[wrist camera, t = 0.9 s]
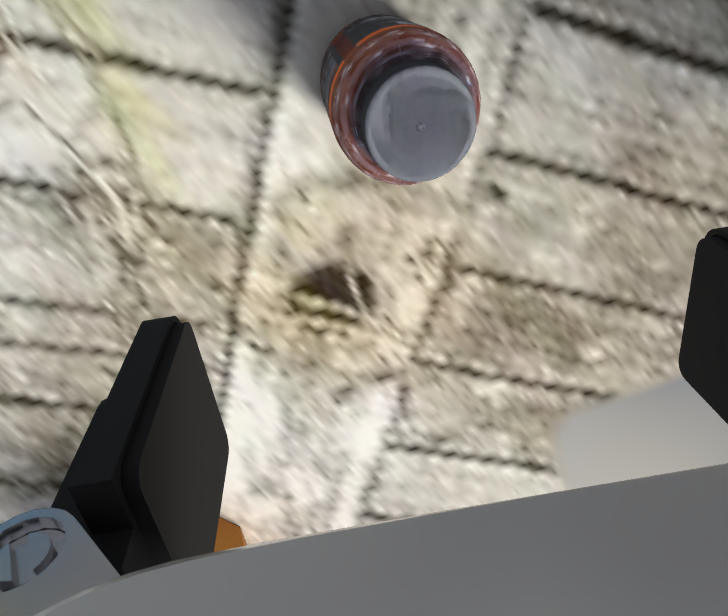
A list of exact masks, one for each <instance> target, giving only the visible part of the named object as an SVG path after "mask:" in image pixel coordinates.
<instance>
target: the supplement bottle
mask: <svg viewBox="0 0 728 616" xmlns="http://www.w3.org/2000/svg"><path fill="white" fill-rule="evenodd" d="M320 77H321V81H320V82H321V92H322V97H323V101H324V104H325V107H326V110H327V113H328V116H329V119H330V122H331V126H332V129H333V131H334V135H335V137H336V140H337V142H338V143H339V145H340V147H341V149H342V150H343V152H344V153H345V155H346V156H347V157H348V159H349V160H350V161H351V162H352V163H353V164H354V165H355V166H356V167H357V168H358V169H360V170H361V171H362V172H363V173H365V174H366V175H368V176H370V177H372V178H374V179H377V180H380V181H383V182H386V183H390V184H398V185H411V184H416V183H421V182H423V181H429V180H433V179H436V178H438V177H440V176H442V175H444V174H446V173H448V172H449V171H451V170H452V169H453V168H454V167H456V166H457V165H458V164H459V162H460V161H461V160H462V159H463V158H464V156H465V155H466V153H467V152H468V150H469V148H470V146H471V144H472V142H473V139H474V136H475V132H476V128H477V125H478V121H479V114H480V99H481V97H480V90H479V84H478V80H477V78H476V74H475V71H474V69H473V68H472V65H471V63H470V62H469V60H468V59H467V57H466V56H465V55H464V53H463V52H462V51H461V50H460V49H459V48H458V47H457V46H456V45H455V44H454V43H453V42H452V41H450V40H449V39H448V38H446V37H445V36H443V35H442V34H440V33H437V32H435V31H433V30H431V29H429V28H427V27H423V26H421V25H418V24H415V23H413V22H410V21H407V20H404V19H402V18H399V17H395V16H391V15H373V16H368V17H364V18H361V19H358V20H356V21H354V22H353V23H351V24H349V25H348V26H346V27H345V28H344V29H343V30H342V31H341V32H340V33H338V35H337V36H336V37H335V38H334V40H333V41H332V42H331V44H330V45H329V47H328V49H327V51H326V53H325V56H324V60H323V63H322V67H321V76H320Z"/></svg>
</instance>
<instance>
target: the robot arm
mask: <svg viewBox="0 0 728 616" xmlns="http://www.w3.org/2000/svg"><path fill="white" fill-rule="evenodd" d="M679 368H680V371H681V374H682V376H683V377H684V379H685V380H686V381H687V382H688V383H689V384H690V385H691V386H692V387H693V388H694V389H695V390H696V391H697V392H698V393H699V395H700V396H701V397H702V398H703V399H704V400H705V401H706V402H707V403H708V404H709V405H710V406H711V407H712V408H713V409H714V410H715V411H716V412H717V413H718V414H719V416H720V417H721V418H722V419H723V420H724V421H725V422H726V423H727V424H728V227H723V228H717V229H712V230H710V231H709V232H708V233H707V235H706V236H705V238H703V239H701V240H700V241H699V243H698V245H697V248H696V254H695V260H694V267H693V273H692V279H691V285H690V292H689V298H688V304H687V310H686V317H685V323H684V329H683V335H682V342H681V348H680V354H679ZM228 454H229V446H228V438H227V434H226V431H225V428H224V425H223V422H222V419H221V415H220V412H219V409H218V406H217V403H216V400H215V397H214V394H213V391H212V388H211V385H210V382H209V379H208V375H207V372H206V369H205V366H204V363H203V360H202V357H201V354H200V351H199V348H198V345H197V342H196V339H195V335H194V332H193V329H192V327H191V325H190V323H189V322H184V323H180V321H179V319H178V318H177V317H176V316H172V317H165V318H159V319H153V320H147V321H143V322H142V323H141V325H140V327H139V329H138V332H137V334H136V336H135V338H134V340H133V343H132V345H131V347H130V349H129V351H128V354H127V356H126V358H125V360H124V362H123V365H122V367H121V369H120V371H119V373H118V376H117V378H116V380H115V382H114V384H113V387H112V389H111V391H110V393H109V395H108V398H107V399H105V400H103V401H102V402H101V403H100V405H99V406H98V408H97V410H96V412H95V414H94V416H93V419H92V421H91V423H90V425H89V427H88V429H87V431H86V434H85V436H84V438H83V440H82V442H81V444H80V446H79V448H78V451H77V453H76V455H75V457H74V459H73V461H72V463H71V466H70V468H69V470H68V472H67V474H66V476H65V478H64V481H63V483H62V485H61V487H60V489H59V491H58V493H57V496H56V498H55V500H54V502H53V504H52V506H51V508H44V509H35V510H32V511H29V512H26V513H23V514H20V515H18V516H16V517H14V518H12V519H10V520H8V521H6V522H4V523H2V524H0V616H728V463H726V464H720V465H714V466H708V467H702V468H696V469H690V470H684V471H678V472H673V473H666V474H660V475H655V476H649V477H643V478H637V479H631V480H625V481H619V482H613V483H607V484H601V485H595V486H589V487H584V488H577V489H571V490H565V491H559V492H553V493H547V494H541V495H536V496H530V497H524V498H518V499H512V500H506V501H500V502H494V503H488V504H482V505H476V506H470V507H464V508H458V509H452V510H446V511H440V512H434V513H429V514H423V515H417V516H411V517H405V518H400V519H394V520H388V521H382V522H377V523H371V524H365V525H359V526H354V527H348V528H342V529H336V530H331V531H325V532H319V533H313V534H308V535H302V536H296V537H290V538H285V539H279V540H273V541H267V542H262V543H257V544H252V545H247V546H242V547H237V548H232V549H227V550H223V551H218V552H214V548H215V542H216V535H217V528H218V522H219V515H220V508H221V501H222V495H223V488H224V481H225V475H226V468H227V461H228Z"/></svg>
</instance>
